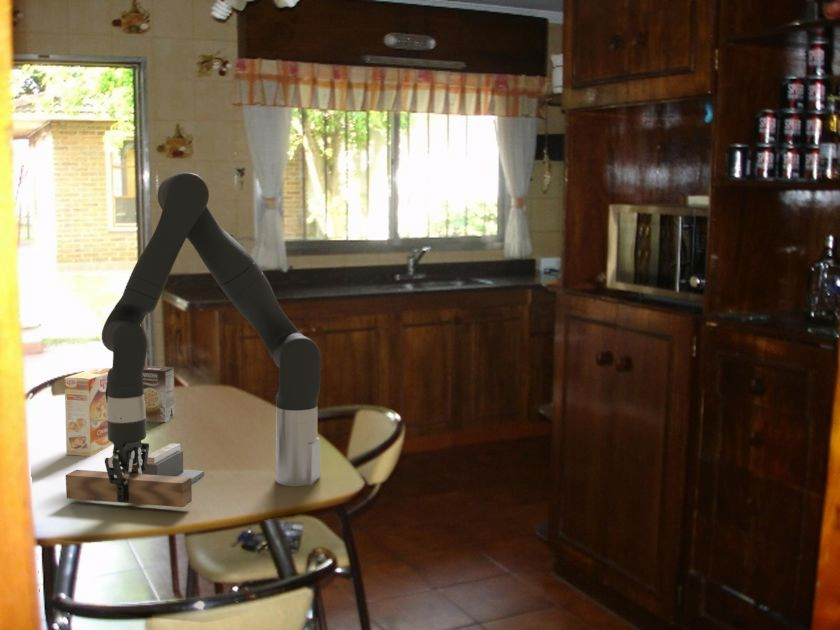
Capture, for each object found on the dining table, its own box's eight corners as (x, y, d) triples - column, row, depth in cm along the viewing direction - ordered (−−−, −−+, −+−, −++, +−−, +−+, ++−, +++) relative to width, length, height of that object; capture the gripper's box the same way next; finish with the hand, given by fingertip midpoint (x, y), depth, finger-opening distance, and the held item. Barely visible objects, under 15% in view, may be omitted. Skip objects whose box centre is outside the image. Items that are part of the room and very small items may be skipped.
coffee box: (135, 425, 262) (133, 369, 261) (145, 420, 269) (144, 365, 267) (165, 427, 261) (164, 370, 259) (175, 422, 267) (174, 366, 265)
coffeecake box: (91, 456, 230) (89, 378, 228) (65, 455, 231) (62, 377, 229) (121, 441, 245) (119, 368, 242) (96, 440, 246) (94, 367, 244)
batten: (191, 501, 192) (191, 477, 192) (183, 507, 189) (182, 483, 188) (77, 492, 198) (76, 469, 197) (66, 498, 194) (65, 475, 193)
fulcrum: (204, 477, 214) (203, 443, 213) (170, 498, 199) (170, 461, 198) (156, 473, 217) (155, 439, 216) (119, 493, 201) (118, 457, 201)
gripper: (124, 426, 183) (127, 510, 185) (160, 410, 197) (162, 489, 199) (90, 423, 185) (93, 507, 187) (127, 408, 199) (130, 486, 201)
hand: (129, 497), depth 193 cm, fingers closed on batten, 4 cm apart
